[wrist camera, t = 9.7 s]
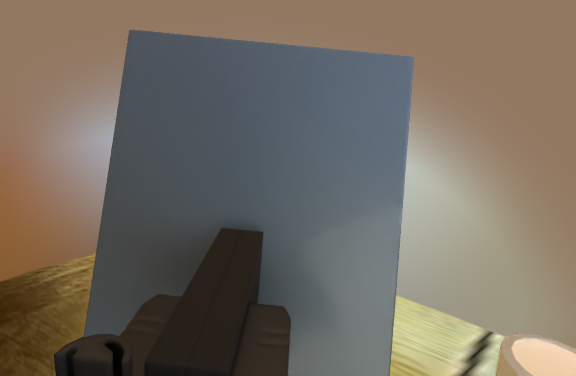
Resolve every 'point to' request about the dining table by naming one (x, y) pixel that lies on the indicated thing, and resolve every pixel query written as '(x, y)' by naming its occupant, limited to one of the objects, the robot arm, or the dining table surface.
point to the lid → (261, 186)
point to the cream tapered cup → (535, 357)
